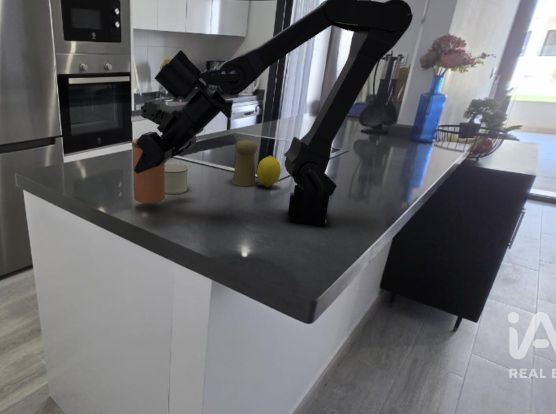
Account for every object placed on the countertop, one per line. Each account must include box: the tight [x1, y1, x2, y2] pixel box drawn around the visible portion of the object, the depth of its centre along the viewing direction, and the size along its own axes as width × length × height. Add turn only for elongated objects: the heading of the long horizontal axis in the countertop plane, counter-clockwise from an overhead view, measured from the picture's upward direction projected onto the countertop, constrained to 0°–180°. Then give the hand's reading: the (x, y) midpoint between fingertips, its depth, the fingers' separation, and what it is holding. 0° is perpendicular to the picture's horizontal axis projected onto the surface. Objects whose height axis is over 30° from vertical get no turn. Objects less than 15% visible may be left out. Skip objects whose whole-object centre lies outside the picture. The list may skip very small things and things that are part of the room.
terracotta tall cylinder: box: [131, 138, 166, 204], centre depth 80 cm, size 7×7×12 cm
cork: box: [231, 139, 258, 187], centre depth 97 cm, size 6×6×11 cm
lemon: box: [256, 155, 282, 188], centre depth 94 cm, size 6×6×8 cm
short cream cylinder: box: [165, 163, 189, 195], centre depth 94 cm, size 7×7×6 cm
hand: (143, 167), depth 81 cm, fingers closed on terracotta tall cylinder, 6 cm apart
